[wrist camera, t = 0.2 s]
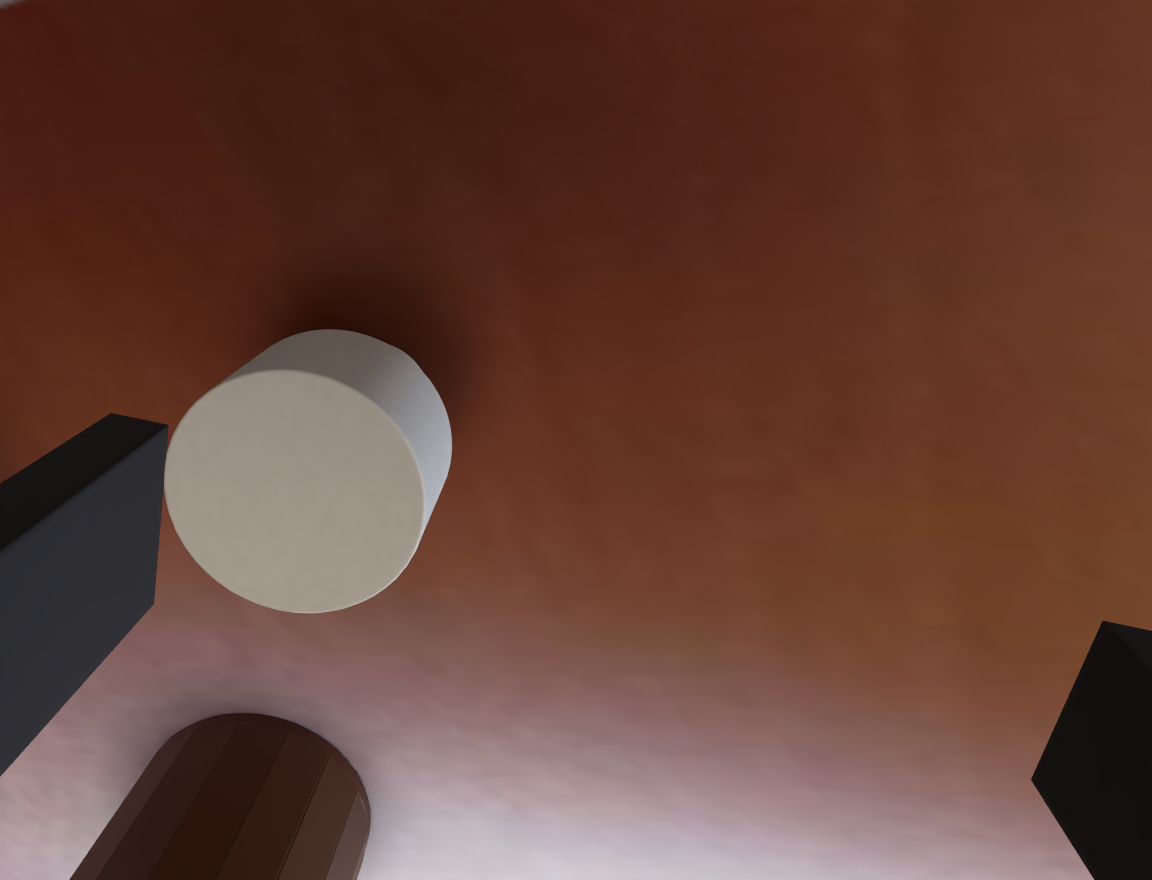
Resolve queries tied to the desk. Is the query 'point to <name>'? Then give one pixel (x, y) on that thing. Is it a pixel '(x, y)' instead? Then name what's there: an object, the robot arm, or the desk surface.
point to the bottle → (237, 809)
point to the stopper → (310, 471)
